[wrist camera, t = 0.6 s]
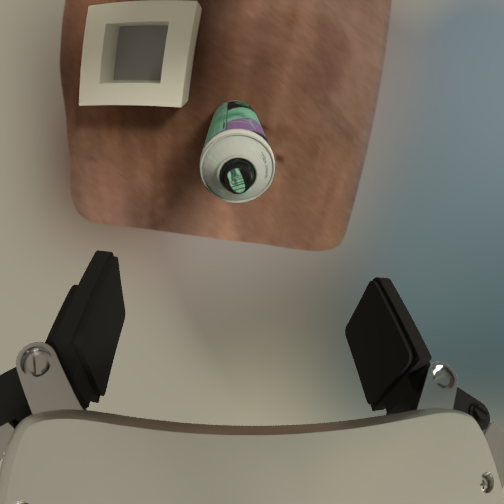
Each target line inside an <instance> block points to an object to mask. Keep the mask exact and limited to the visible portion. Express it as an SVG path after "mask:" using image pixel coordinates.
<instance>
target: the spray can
mask: <svg viewBox="0 0 504 504" xmlns="http://www.w3.org/2000/svg"><path fill="white" fill-rule="evenodd" d="M274 172H275V160H274V155H273V152H272V150H271V148H270V145H269V143H268V141H267V138H266V136H265V134H264V132H263V129H262V127H261V125H260V123H259V120H258V118H257V116H256V114H255V112H254V110H253V109H252V108H251V107H250V106H249V105H248V104H246V103H244V102H242V101H228V102H225V103H223V104H222V105H220V106H219V107H218V108H217V110H216V111H215V113H214V115H213V118H212V121H211V124H210V127H209V130H208V134H207V137H206V140H205V143H204V147H203V150H202V153H201V157H200V175H201V178H202V181H203V183H204V185H205V187H206V188H207V189H208V190H209V192H210V193H212V194H213V195H214V196H215V197H217V198H219V199H221V200H224V201H227V202H233V203H242V202H247V201H250V200H253V199H255V198H257V197H258V196H260V195H261V194H262V193H264V192H265V191H266V190H267V188H268V187H269V186H270V184H271V182H272V180H273V176H274Z"/></svg>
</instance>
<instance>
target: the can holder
mask: <svg viewBox="0 0 504 504" xmlns="http://www.w3.org/2000/svg"><path fill="white" fill-rule="evenodd" d="M201 14H202V8H201V6H200V4H199V3H198V1H183V0H150V1H129V2H117V3H107V4H98V5H91V6H89V7H88V13H87V19H86V26H85V33H84V41H83V49H82V60H81V72H80V89H79V106H88V105H142V106H165V107H182V106H183V105H184V104H185V103H186V102H187V101H188V97H189V89H190V82H191V75H192V68H193V61H194V55H195V48H196V42H197V36H198V31H199V25H200V20H201Z"/></svg>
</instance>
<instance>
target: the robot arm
mask: <svg viewBox="0 0 504 504" xmlns="http://www.w3.org/2000/svg"><path fill="white" fill-rule="evenodd" d="M124 319H125V307H124V301H123V294H122V287H121V280H120V271H119V263H118V258H117V257H114V256H113V253H112V252H106V251H96V252H95V254H94V256H93V258H92V260H91V262H90V263H89V265H88V267H87V269H86V271H85V273H84V275H83V277H82V279H81V281H80V283H79V285H73V286H72V287H71V289H70V291H69V293H68V295H67V297H66V299H65V301H64V303H63V305H62V307H61V309H60V311H59V313H58V316H57V318H56V320H55V322H54V324H53V326H52V328H51V331H50V333H49V335H48V338H47V340H46V342H45V343H42V342H35V343H31V344H29V345H27V346H25V347H24V348H23V349H22V350H21V351H20V353H19V354H18V356H17V360H16V367H15V368H13V369H11V370H9V371H7V372H5V373H4V374H2V375H0V460H1V459H2V458H3V457H4V458H3V462H2V465H1V470H0V504H504V495H503V491H502V488H503V486H504V434H503V433H502V432H501V430H500V429H499V428H498V427H497V426H496V425H495V424H494V423H493V422H491V423H490V416H489V412H488V410H487V408H486V407H485V405H484V404H482V403H481V402H480V401H478V400H477V399H475V398H473V397H472V396H470V395H469V394H467V393H466V392H464V391H463V390H461V389H459V388H458V387H457V385H458V383H457V381H458V380H457V376H456V374H455V372H454V370H453V369H452V368H451V367H450V366H448V365H447V364H445V363H443V362H434V363H432V364H430V362H429V361H430V360H431V355H430V353H429V351H428V349H427V347H426V345H425V343H424V341H423V339H422V337H421V335H420V333H419V331H418V329H417V327H416V325H415V323H414V321H413V320H412V318H411V316H410V314H409V312H408V310H407V308H406V306H405V305H404V303H403V301H402V299H401V298H400V296H399V294H398V292H397V290H396V289H395V287H394V285H393V283H392V282H391V280H390V279H388V278H378V277H377V278H374V279H373V281H370V282H369V284H368V286H367V288H366V290H365V292H364V294H363V297H362V298H361V300H360V302H359V304H358V306H357V308H356V309H355V311H354V313H353V315H352V317H351V319H350V321H349V323H348V324H347V326H346V330H345V333H346V338H347V341H348V344H349V347H350V350H351V353H352V356H353V359H354V362H355V365H356V368H357V371H358V374H359V377H360V380H361V383H362V387H363V390H364V393H365V397H366V400H367V402H368V404H371V407H372V411H376V410H383V409H385V408H386V411H387V413H386V415H384V416H378V417H371V418H364V419H357V420H348V421H339V422H329V423H318V424H303V425H281V426H227V425H206V424H191V423H179V422H170V421H160V420H152V419H144V418H136V417H129V416H122V415H116V414H110V413H102V412H96V411H87V410H86V408H87V407H89V403H90V401H92V402H96V403H98V402H99V398H100V395H101V396H104V395H105V392H106V388H107V383H108V379H109V375H110V371H111V367H112V363H113V359H114V355H115V352H116V348H117V344H118V341H119V337H120V333H121V330H122V326H123V323H124ZM5 450H6V451H5ZM4 451H5V455H3V452H4Z"/></svg>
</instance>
